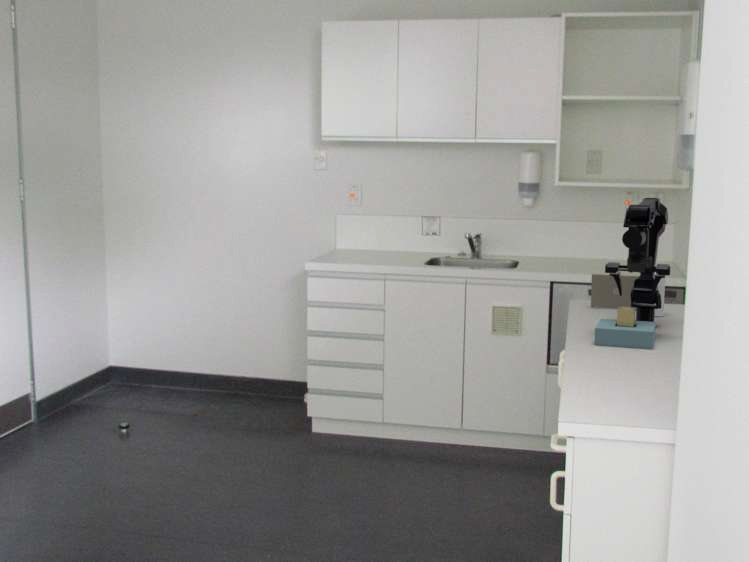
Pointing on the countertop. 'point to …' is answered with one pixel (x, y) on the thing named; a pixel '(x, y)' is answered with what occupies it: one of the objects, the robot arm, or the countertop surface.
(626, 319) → the brass pin
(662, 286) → the milk carton
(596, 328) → the hole block
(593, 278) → the laptop
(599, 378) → the countertop surface
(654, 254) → the robot arm
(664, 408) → the countertop surface
